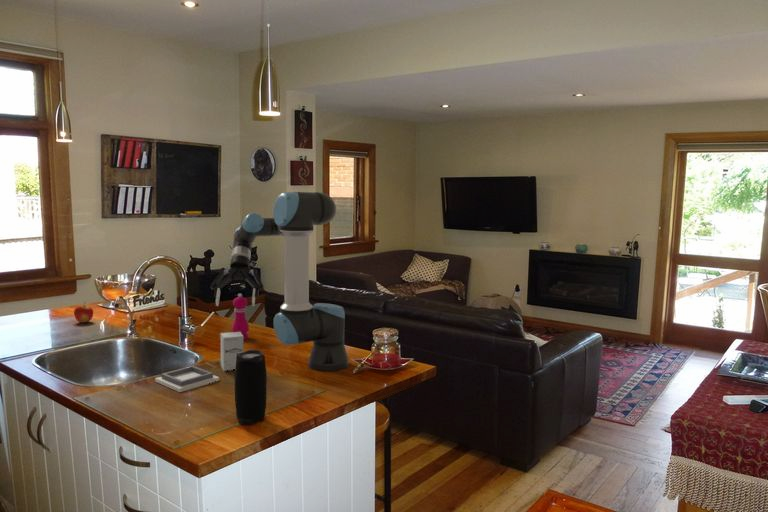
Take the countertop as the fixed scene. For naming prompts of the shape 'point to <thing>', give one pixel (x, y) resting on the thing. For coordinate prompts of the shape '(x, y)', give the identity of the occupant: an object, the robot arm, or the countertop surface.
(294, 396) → the countertop surface
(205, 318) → the countertop surface
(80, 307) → the apple
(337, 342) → the robot arm
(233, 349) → the supplement box
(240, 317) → the pepper mill
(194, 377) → the collar board
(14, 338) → the countertop surface
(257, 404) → the portable speaker
